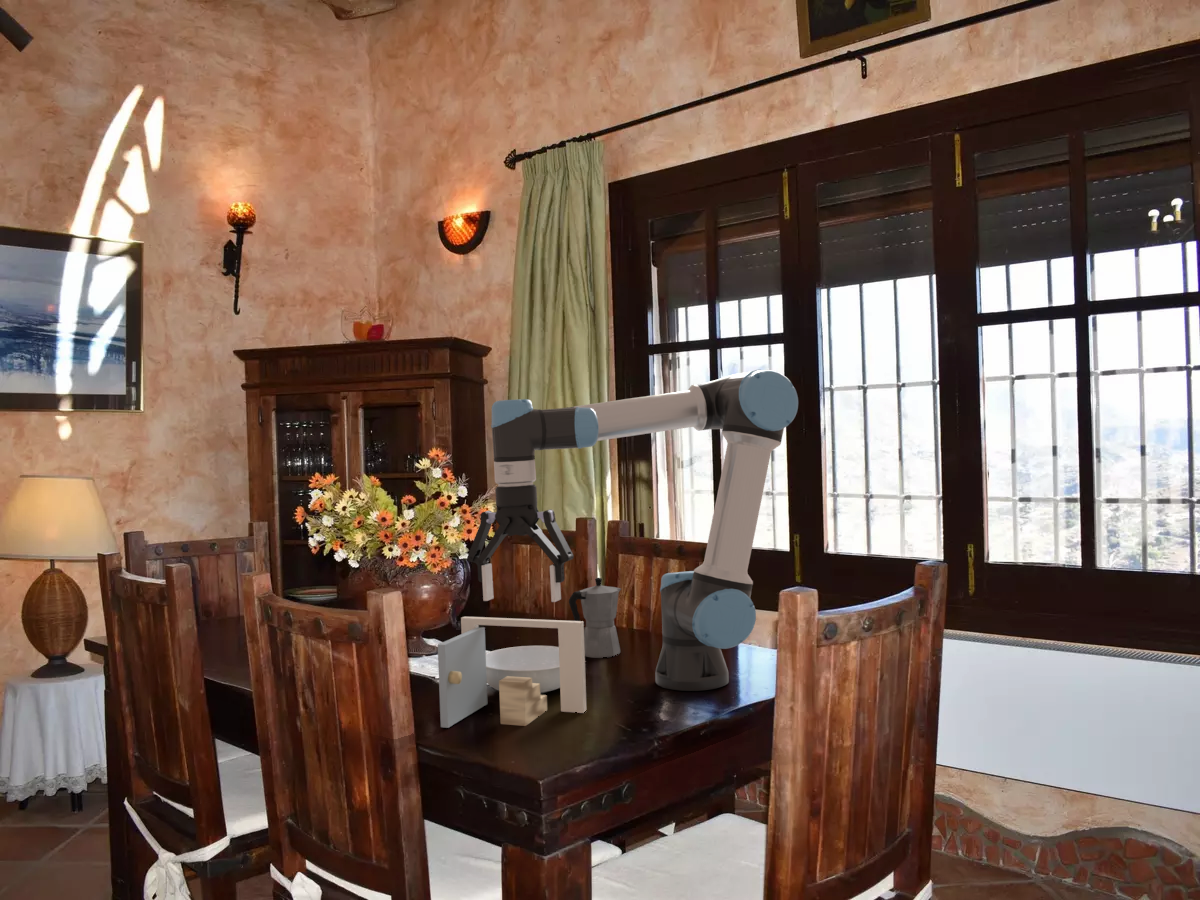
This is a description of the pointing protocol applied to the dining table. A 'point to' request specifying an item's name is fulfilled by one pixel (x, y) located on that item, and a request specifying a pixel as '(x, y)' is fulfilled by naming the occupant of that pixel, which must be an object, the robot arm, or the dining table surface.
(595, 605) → the coffeepot
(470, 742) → the dining table surface
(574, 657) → the wall frame
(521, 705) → the toy staircase
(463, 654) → the door
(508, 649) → the serving bowl
